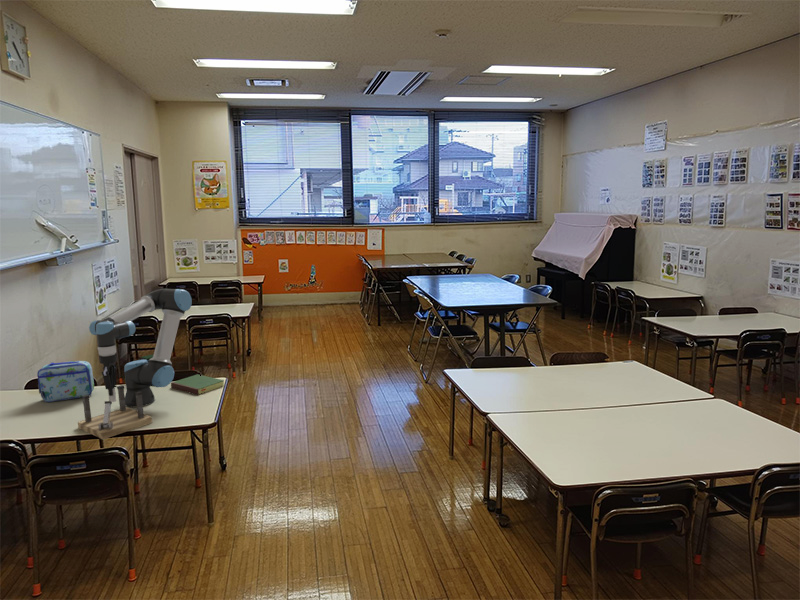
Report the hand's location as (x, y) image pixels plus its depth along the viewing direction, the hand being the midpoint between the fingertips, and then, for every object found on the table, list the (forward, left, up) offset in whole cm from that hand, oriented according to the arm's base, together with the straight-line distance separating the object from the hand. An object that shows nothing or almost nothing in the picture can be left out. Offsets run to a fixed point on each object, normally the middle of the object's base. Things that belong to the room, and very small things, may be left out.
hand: (112, 401), depth 268 cm
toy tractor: (-54, +48, -13) cm, 73 cm away
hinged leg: (+6, -6, -4) cm, 9 cm away
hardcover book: (-17, +58, -13) cm, 62 cm away
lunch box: (-62, +5, -13) cm, 64 cm away
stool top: (0, 0, -12) cm, 12 cm away
